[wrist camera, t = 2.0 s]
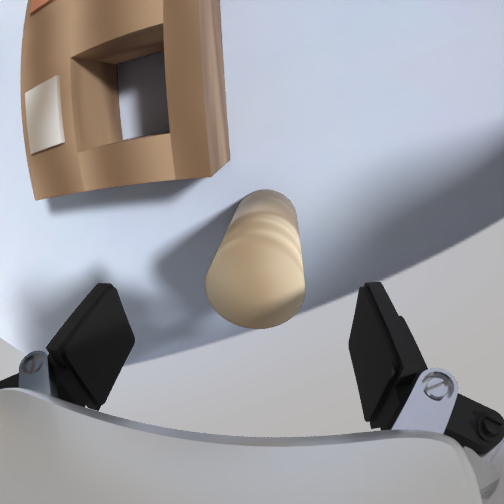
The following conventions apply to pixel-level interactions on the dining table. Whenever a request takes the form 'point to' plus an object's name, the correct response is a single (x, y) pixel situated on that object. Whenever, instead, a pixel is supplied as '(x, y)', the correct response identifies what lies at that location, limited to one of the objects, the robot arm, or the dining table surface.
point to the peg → (258, 264)
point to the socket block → (106, 92)
